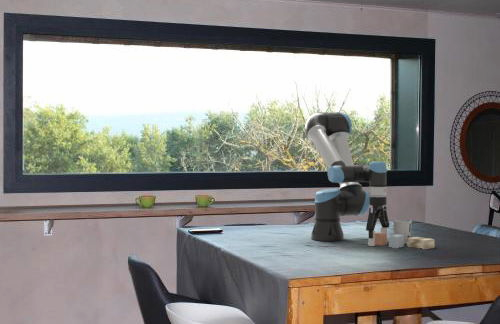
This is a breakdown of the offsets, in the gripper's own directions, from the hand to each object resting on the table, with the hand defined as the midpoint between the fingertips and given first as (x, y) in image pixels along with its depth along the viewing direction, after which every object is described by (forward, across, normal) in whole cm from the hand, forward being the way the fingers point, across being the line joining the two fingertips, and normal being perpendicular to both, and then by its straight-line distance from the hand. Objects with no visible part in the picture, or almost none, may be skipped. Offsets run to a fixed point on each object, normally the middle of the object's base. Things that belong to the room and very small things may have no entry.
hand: (377, 244), depth 299 cm
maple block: (0, +2, -19) cm, 19 cm away
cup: (0, +9, -8) cm, 12 cm away
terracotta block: (0, 0, 0) cm, 0 cm away
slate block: (0, -3, -10) cm, 10 cm away
